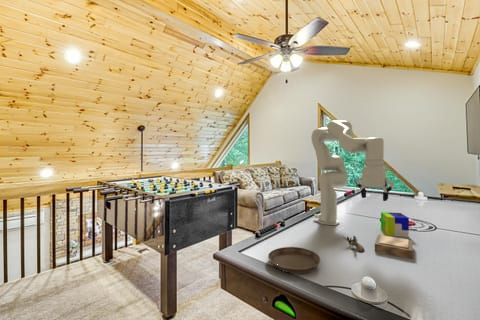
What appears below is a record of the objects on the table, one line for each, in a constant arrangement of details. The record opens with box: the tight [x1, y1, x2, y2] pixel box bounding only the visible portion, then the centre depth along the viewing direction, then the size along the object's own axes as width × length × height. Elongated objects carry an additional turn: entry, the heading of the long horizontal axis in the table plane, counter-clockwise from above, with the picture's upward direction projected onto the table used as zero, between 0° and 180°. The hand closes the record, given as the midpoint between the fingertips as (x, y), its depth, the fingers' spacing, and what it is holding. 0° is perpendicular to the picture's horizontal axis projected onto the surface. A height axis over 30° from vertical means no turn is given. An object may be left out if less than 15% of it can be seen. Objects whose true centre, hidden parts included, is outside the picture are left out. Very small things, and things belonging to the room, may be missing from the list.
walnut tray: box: [374, 234, 414, 260], centre depth 113 cm, size 14×14×4 cm
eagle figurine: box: [342, 235, 366, 254], centre depth 114 cm, size 8×7×9 cm
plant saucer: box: [267, 246, 321, 275], centre depth 100 cm, size 21×21×3 cm
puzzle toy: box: [380, 211, 410, 238], centre depth 135 cm, size 10×10×10 cm
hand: (374, 199), depth 118 cm, fingers open, 9 cm apart
